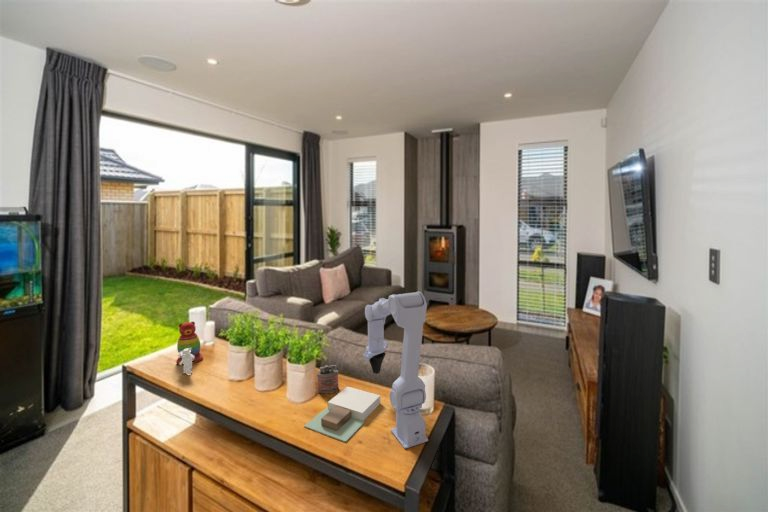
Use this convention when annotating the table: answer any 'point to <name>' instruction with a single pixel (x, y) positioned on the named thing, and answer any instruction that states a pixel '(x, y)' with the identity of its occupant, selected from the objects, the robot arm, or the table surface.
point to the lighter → (327, 379)
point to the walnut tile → (336, 418)
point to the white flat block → (355, 402)
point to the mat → (341, 434)
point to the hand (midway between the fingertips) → (376, 372)
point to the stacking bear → (189, 341)
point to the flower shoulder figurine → (186, 360)
